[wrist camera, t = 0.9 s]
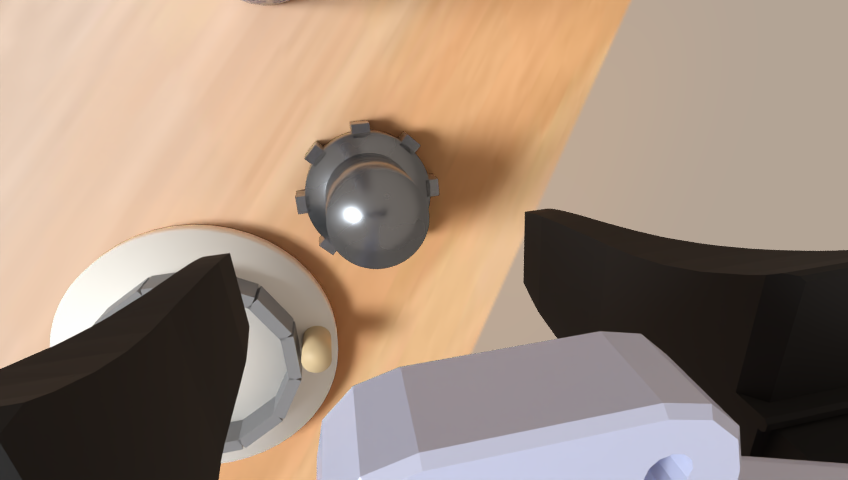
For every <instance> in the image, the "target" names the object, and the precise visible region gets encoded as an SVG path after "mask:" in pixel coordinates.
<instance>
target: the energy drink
mask: <svg viewBox="0 0 848 480" xmlns="http://www.w3.org/2000/svg"><path fill="white" fill-rule="evenodd" d="M242 1H245V2H248V3H251V4H259V5H273V4H279V3H283V2H286V1H289V0H242Z"/></svg>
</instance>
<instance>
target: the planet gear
mask: <svg viewBox="0 0 848 480" xmlns="http://www.w3.org/2000/svg"><path fill="white" fill-rule="evenodd" d="M350 129H351V131H350V132H347V133H344V134H342V135H340V136H338V137H336V138H334V139H333V140H331V141H330V142H328V143H327V144H326V145H325V146H324V147H323V146H322V145H320V144H319V143H318V142H317V141H315V143H314V144H313V145H312V147H311V148H310V149H309V150H308V152H307V153H306V154H305V160H307V161H308V162H309V163H311V166H310V168H309V171H308V174H307V180H306V186H305V190H301V191H296V196H295V198H296V204H297V209H298V214H303V213H308V214H309V217H310V219H311V221H312V223H313V225H314V227H315V228H316V229H317V231H318V232H319V233H320V234H321V236H320V237H319V246H320V247H322V248H323V249H325V250H326V251H328V252H329V253H331V254H332V255H334V253H335V252H336V251H337V252H338V253H339V254H340V255H341V256H342V257H344V258H345V259H346V260H348V261H349V262H351V263H353V264H355V265H358V266H361V267H364V268H370V269H383V268H388V267H392V266H395V265H398V264H400V263H402V262H404V261H405V260H407V259H408V258H409V257H411V256H412V255H413V254H414V253H415V252H416V251H417V250H418V249H419V247H420V246H421V244H422V243H423V241H424V239H425V237H426V234H427V231H428V227H429V210H428V208H429V204H430V196H437V195H439V185H438V178H437V177H436V176H434V175H433V174H427V172H426V169H425V167H424V165H423V163H422V162H421V160H420V158H419V157H418V156H417V155H416V154H415V152H416V151H417V149H418V148H419V147H420V146H421V145H420V144H419V143H417V142H416V141H415V140H414V139H413V138H411V137H410V136H409V135H408V134H406V133H405V132H404V131H403V132H402V133H401V135H400V136H399V137H398V138H396V137H394V136H392V135H390V134H388V133H385V132H381V131H377V130H370V125H369V122H368V121H367V120H363V121H354V122H350Z"/></svg>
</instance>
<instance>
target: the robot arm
mask: <svg viewBox="0 0 848 480" xmlns="http://www.w3.org/2000/svg"><path fill="white" fill-rule="evenodd" d="M524 284H525V286H526V288H527V290H528V293H529V295H530V297H531V298H532V300H533V302H534V304H535V306H536V308H537V310H538V312H539V313H540V315H541V316H542V318H543V319H544V320H545V322H546V323H547V325H548V326H549V327H550V329H551V330H552V332H553V333H554V334H555V336H556V337H557V338H558V339H554V340H548V341H543V342H537V343H531V344H526V345H520V346H515V347H509V348H503V349H498V350H492V351H487V352H481V353H475V354H470V355H464V356H459V357H453V358H447V359H442V360H436V361H431V362H425V363H419V364H414V365H408V366H403V367H399V368H396V369H394V370H391V371H389V372H386V373H384V374H381V375H379V376H376V377H374V378H372V379H369V380H367V381H364V382H362V383H359V384H357V385H354V386H352V388H351V389H350V390H349V391H348V392H347V393H346V394H345V395H344V396H343V398H342V399H341V400H340V401H339V402H338V403H337V404H336V405H335V406H334V407H333V409H332V410H331V411H330V412H329V413H328V414H327V415H326V416H325V417H324V418H323V420H322V426H321V433H320V440H319V447H318V454H317V480H848V250H839V251H787V250H763V249H747V248H736V247H726V246H715V245H707V244H700V243H694V242H688V241H682V240H675V239H670V238H665V237H659V236H655V235H651V234H647V233H643V232H638V231H634V230H630V229H626V228H623V227H619V226H615V225H612V224H608V223H605V222H601V221H598V220H594V219H591V218H587V217H584V216H580V215H577V214H573V213H569V212H565V211H561V210H555V209H542V210H535V211H528V212H525V237H524ZM249 327H250V326H249V322H248V319H247V315H246V311H245V307H244V304H243V300H242V296H241V292H240V289H239V285H238V281H237V277H236V274H235V270H234V266H233V262H232V259H231V255H230V253H226V254H219V255H212V256H205V257H201V258H199V259H197V260H195V261H193V262H192V263H190V264H188V265H187V266H185V267H184V268H182V269H181V270H179V271H178V272H176V273H175V274H173V275H172V276H170V277H169V278H168V279H166V280H165V281H163V282H162V283H160V284H159V285H157V286H156V287H154V288H153V289H152V290H150V291H149V292H147V293H146V294H144V295H143V296H141V297H139V298H138V299H136V300H135V301H133V302H131V303H130V304H128V305H127V306H125V307H124V308H122V309H120V310H119V311H117V312H116V313H114V314H112V315H111V316H109V317H107V318H106V319H104V320H102V321H101V322H99V323H97V324H95V325H93V326H92V327H90V328H88V329H86V330H84V331H82V332H80V333H78V334H76V335H74V336H72V337H71V338H69V339H67V340H65V341H63V342H61V343H59V344H56V345H54V346H52V347H50V348H48V349H45V350H43V351H41V352H39V353H36V354H34V355H32V356H29V357H27V358H25V359H23V360H20V361H18V362H16V363H13V364H11V365H9V366H7V367H4V368H2V369H0V480H218V479H219V472H220V465H221V459H222V454H223V450H224V445H225V441H226V437H227V433H228V429H229V426H230V422H231V418H232V414H233V411H234V407H235V403H236V399H237V395H238V392H239V388H240V384H241V380H242V376H243V372H244V368H245V364H246V359H247V350H248V339H249Z"/></svg>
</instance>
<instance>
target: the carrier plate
mask: <svg viewBox="0 0 848 480" xmlns="http://www.w3.org/2000/svg"><path fill="white" fill-rule="evenodd" d="M226 253H230V255H231V259H232V262H233V266H234V270H235V274H236V277H237V281H238V285H239V289H240V292H241V296H242V300H243V304H244V307H245V311H246V315H247V319H248V322H249V326H250V327H249V339H248V350H247V359H246V364H245V368H244V372H243V376H242V380H241V384H240V388H239V392H238V395H237V399H236V403H235V407H234V411H233V414H232V418H231V422H230V426H229V429H228V433H227V437H226V441H225V445H224V450H223V454H222V459H221V463H227V462H233V461H237V460H240V459H244V458H248V457H251V456H254V455H256V454H259V453H262V452H264V451H266V450H268V449H270V448H272V447H274V446H276V445H278V444H280V443H281V442H283V441H284V440H286V439H288V438H289V437H291V436H292V435H293V434H294V433H296V432H297V431H298V430H299V429H301V428H302V427H303V426H304V425H305V424H306V423H307V422H308V421H309V420H310V419H311V418H312V417H313V416H314V414H315V413H316V411H317V410H318V409H319V407H320V406H321V405H322V403H323V401H324V400H325V398H326V396H327V394H328V392H329V390H330V388H331V385H332V382H333V380H334V376H335V372H336V367H337V360H338V338H337V327H336V322H335V318H334V314H333V310H332V308H331V305H330V303H329V300H328V298H327V296H326V294H325V293H324V291H323V289H322V288H321V286H320V284H319V283H318V282H317V280H316V279H315V278H314V277H313V275H312V274H311V273H310V271H308V270H307V269H306V268H305V267H304V266H303V265H302V264H301V263H300V262H299V261H298V260H297V259H296V258H294V257H293V256H292V255H290V254H289V253H287V252H286V251H285V250H283V249H282V248H280V247H278V246H276V245H275V244H273V243H271V242H269V241H267V240H265V239H263V238H260V237H258V236H255V235H253V234H250V233H247V232H243V231H240V230H236V229H233V228H227V227H220V226H214V225H194V224H193V225H180V226H171V227H166V228H161V229H156V230H152V231H149V232H146V233H143V234H140V235H137V236H135V237H132V238H130V239H128V240H126V241H124V242H122V243H120V244H118V245H117V246H115V247H114V248H112V249H110V250H109V251H107V252H106V253H104V254H103V255H102V256H101V257H100V258H98V259H97V260H96V261H95V262H94V263H93V264H91V265H90V266H89V267H88V268H87V269H86V270H85V271H83V272H82V273H81V274H80V275H79V276H78V278H77V279H76V280H75V281H74V282H73V284H72V285H71V286H70V287H69V288H68V290H67V292H66V293H65V295H64V297H63V298H62V300H61V302H60V304H59V306H58V309H57V311H56V314H55V317H54V319H53V324H52V329H51V334H50V347H52V346H54V345H56V344H59V343H61V342H63V341H65V340H67V339H69V338H71V337H72V336H74V335H76V334H78V333H80V332H82V331H84V330H86V329H88V328H90V327H92V326H93V325H95V324H97V323H99V322H101V321H102V320H104V319H106V318H107V317H109V316H111V315H112V314H114V313H116V312H117V311H119V310H120V309H122V308H124V307H125V306H127V305H128V304H130V303H131V302H133V301H135V300H136V299H138V298H139V297H141V296H143V295H144V294H146V293H147V292H149V291H150V290H152V289H153V288H154V287H156V286H157V285H159V284H160V283H162V282H163V281H165V280H166V279H168V278H169V277H170V276H172V275H173V274H175V273H176V272H178V271H179V270H181V269H182V268H184V267H185V266H187V265H188V264H190V263H192V262H193V261H195V260H197V259H199V258H201V257H205V256H212V255H219V254H226Z"/></svg>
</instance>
